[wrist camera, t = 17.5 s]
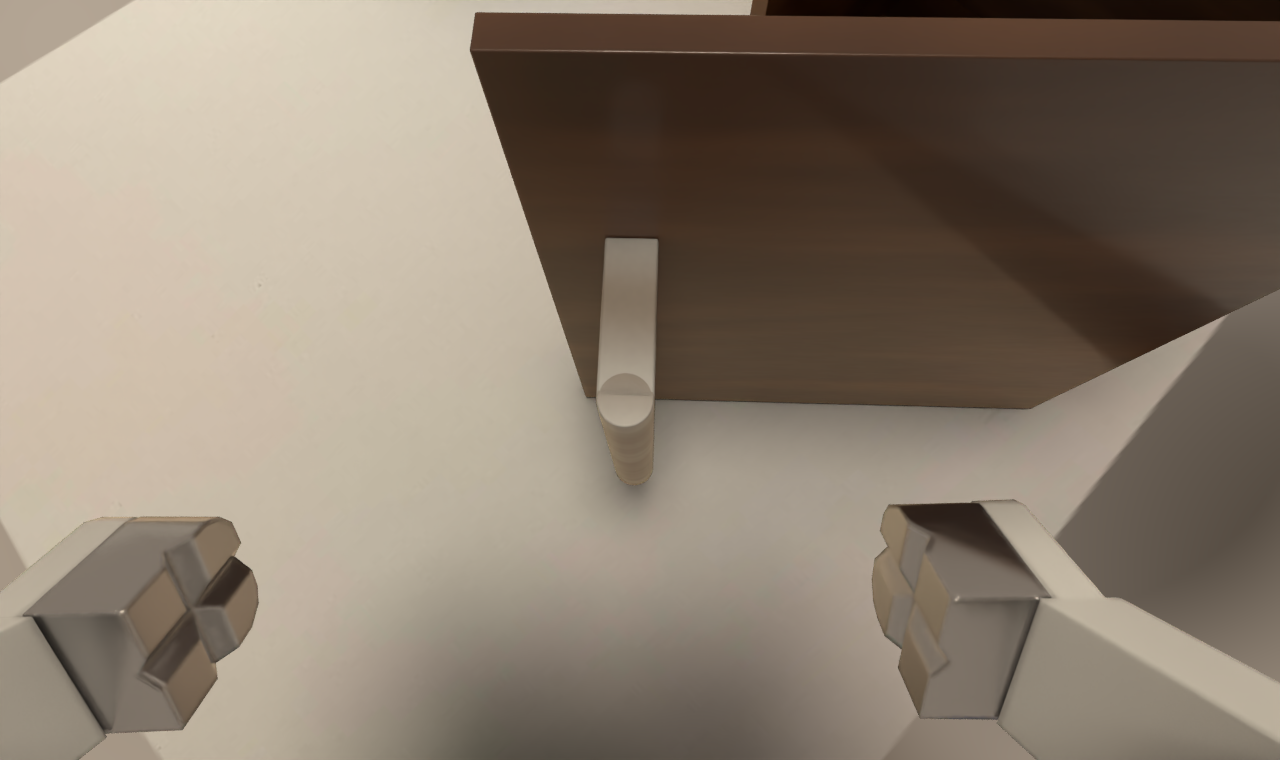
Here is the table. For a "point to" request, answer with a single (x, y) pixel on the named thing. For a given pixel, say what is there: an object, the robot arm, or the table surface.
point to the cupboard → (1029, 9)
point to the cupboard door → (881, 200)
